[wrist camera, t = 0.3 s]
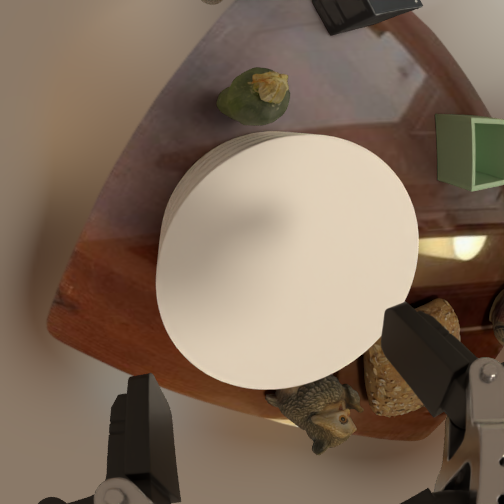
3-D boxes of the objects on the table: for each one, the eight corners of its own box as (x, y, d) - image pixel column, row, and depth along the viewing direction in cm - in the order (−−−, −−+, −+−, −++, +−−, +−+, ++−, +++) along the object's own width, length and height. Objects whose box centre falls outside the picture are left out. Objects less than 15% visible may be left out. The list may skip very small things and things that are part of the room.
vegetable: (254, 102, 33) (340, 81, 15) (235, 133, 34) (302, 142, 16) (222, 82, 32) (276, 34, 14) (201, 114, 33) (232, 97, 15)
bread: (437, 360, 62) (467, 391, 51) (361, 406, 60) (386, 445, 49) (443, 277, 51) (487, 308, 41) (349, 330, 50) (387, 376, 39)
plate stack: (126, 292, 38) (114, 348, 28) (232, 87, 32) (257, 70, 22) (298, 353, 49) (326, 403, 39) (397, 201, 43) (452, 226, 32)
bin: (434, 113, 39) (471, 117, 32) (473, 115, 40) (506, 119, 33) (437, 180, 43) (471, 191, 36) (474, 174, 45) (506, 184, 38)
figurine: (356, 355, 53) (400, 412, 39) (308, 408, 56) (338, 468, 42) (300, 332, 47) (342, 402, 34) (248, 394, 50) (272, 466, 37)
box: (356, -10, 29) (402, -34, 20) (374, 24, 32) (425, 7, 22) (309, 0, 29) (351, -31, 20) (329, 36, 32) (376, 16, 22)
